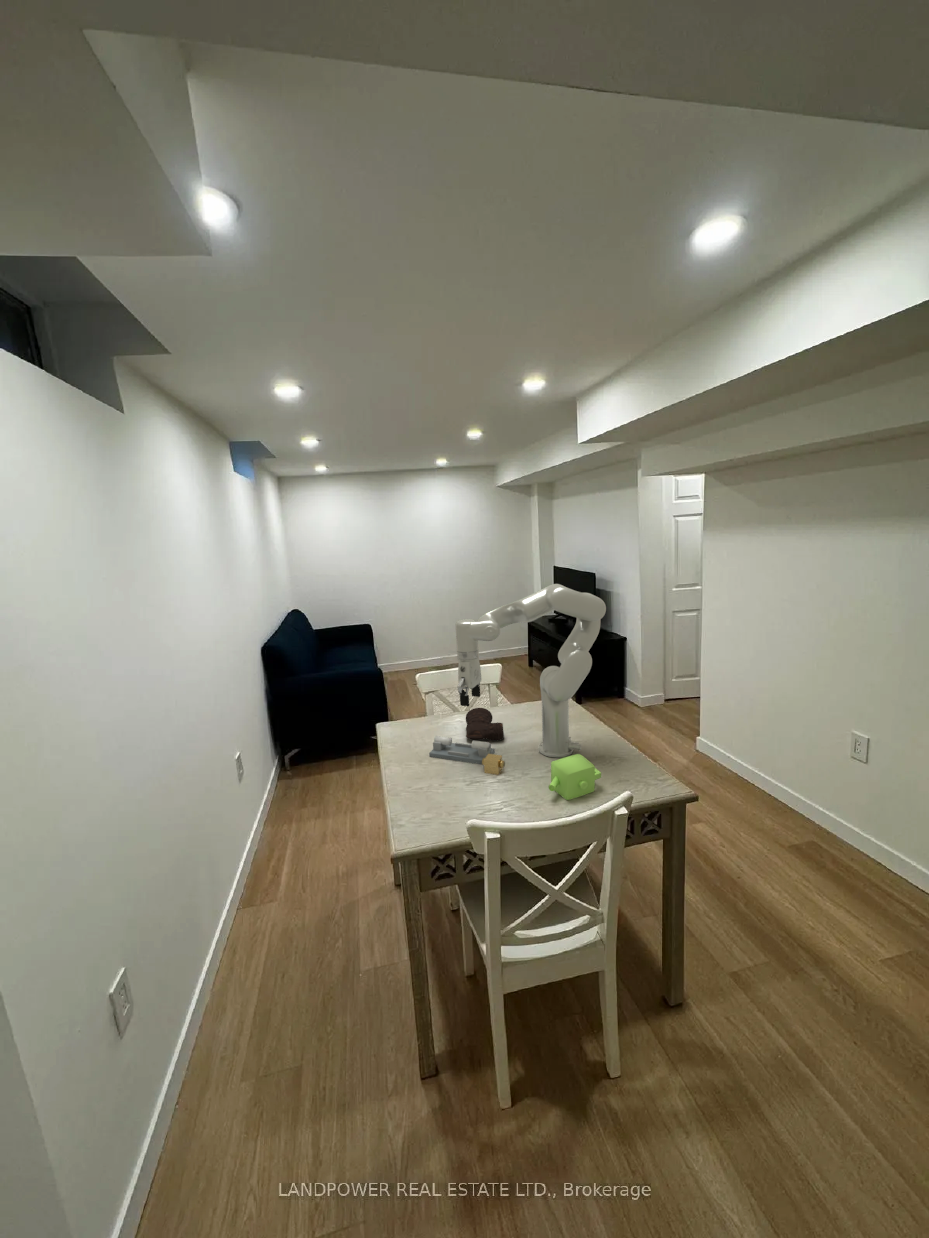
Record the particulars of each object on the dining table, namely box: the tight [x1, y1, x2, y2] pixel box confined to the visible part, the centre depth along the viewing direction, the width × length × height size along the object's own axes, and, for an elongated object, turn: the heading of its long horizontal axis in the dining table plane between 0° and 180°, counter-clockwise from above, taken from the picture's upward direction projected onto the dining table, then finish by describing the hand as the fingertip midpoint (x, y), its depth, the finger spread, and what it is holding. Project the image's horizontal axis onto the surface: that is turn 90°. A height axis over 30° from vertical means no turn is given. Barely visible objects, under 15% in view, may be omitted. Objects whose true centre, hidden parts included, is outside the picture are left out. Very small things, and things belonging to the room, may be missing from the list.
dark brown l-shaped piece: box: [465, 707, 505, 742], centre depth 195 cm, size 10×15×15 cm
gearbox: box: [548, 753, 602, 801], centre depth 152 cm, size 18×10×10 cm, turn 113°
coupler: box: [481, 753, 506, 776], centre depth 168 cm, size 7×4×5 cm, turn 68°
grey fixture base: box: [428, 735, 496, 765], centre depth 180 cm, size 22×10×6 cm, turn 68°
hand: (470, 700), depth 175 cm, fingers open, 9 cm apart
